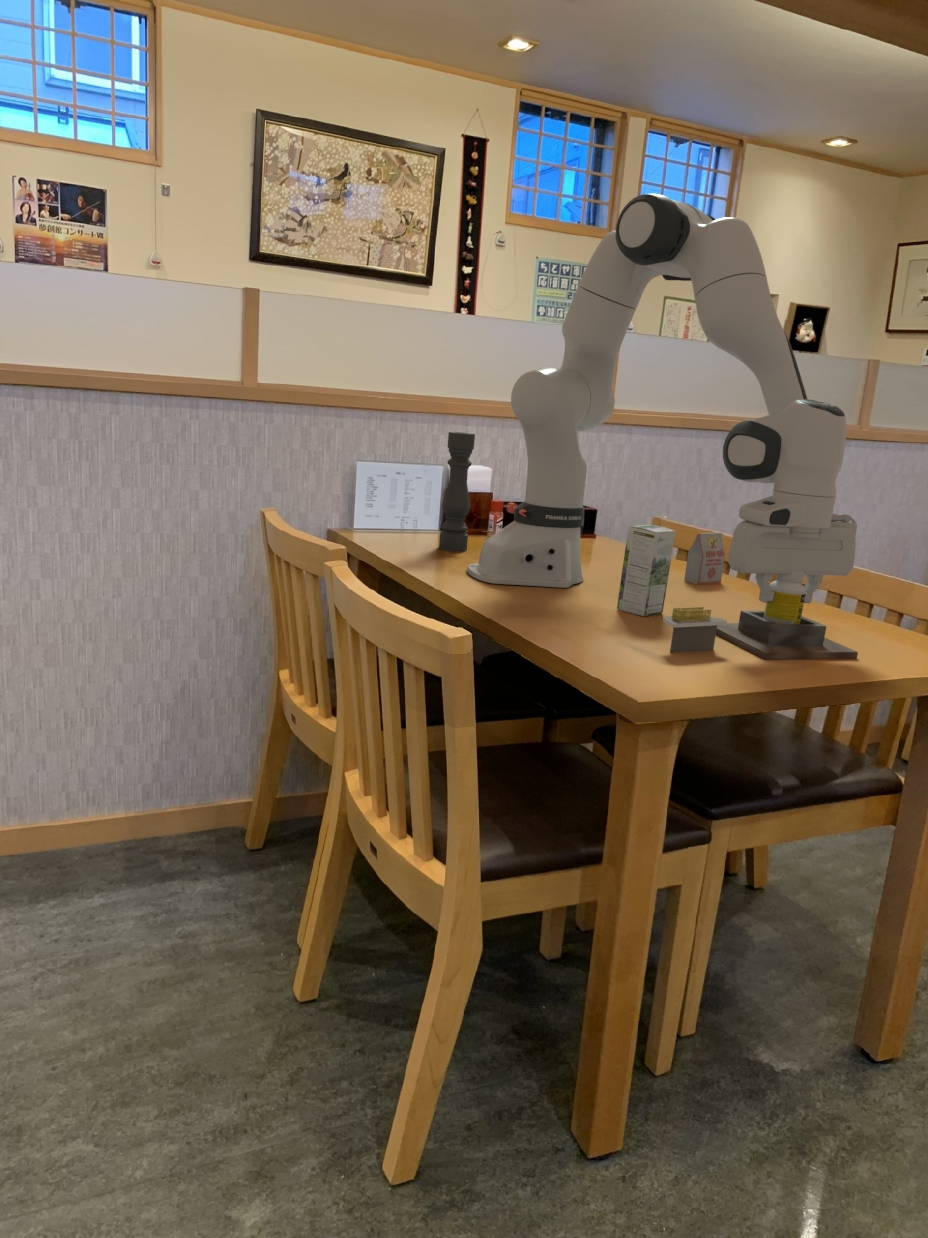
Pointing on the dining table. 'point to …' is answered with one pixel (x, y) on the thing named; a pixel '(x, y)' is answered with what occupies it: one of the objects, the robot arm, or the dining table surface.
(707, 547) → the tea bag
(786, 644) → the socket holder
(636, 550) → the syrup box
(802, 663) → the dining table surface
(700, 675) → the dining table surface
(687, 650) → the platform
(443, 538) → the dark gray baluster
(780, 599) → the supplement bottle
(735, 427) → the robot arm
